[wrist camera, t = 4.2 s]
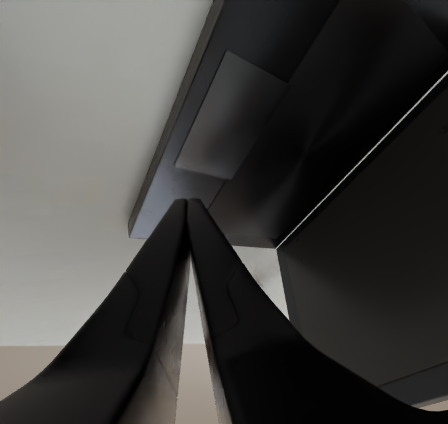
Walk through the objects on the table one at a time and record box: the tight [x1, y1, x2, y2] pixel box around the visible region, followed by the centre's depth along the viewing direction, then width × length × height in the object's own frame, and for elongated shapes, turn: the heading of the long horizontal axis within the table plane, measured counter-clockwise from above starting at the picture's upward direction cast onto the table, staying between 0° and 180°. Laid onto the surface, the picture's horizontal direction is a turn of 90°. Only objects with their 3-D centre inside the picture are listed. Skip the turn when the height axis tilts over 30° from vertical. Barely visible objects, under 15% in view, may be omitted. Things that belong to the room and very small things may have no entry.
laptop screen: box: [276, 74, 448, 408], centre depth 17 cm, size 17×24×1 cm
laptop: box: [128, 0, 448, 249], centre depth 20 cm, size 17×24×2 cm
